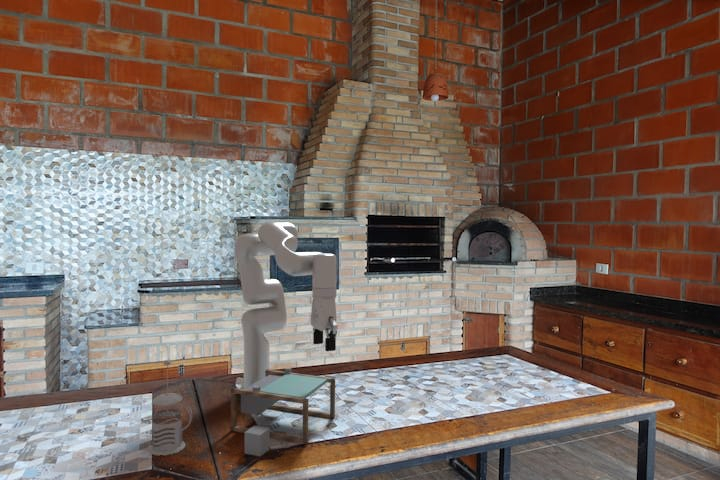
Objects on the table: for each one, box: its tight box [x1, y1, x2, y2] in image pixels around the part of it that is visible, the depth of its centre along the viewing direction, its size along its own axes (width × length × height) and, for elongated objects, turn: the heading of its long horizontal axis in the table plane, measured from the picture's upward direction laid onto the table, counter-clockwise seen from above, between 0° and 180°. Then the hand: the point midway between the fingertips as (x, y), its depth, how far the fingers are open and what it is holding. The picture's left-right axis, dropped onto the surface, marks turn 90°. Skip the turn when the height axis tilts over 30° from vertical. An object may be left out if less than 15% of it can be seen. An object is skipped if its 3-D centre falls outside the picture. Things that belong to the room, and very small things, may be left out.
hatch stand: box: [230, 367, 336, 446], centre depth 152 cm, size 26×21×14 cm
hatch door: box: [240, 374, 328, 416], centre depth 152 cm, size 22×18×8 cm
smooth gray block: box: [243, 425, 271, 458], centre depth 134 cm, size 5×5×6 cm
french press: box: [148, 359, 193, 456], centre depth 135 cm, size 10×12×25 cm
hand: (324, 347), depth 150 cm, fingers open, 9 cm apart
